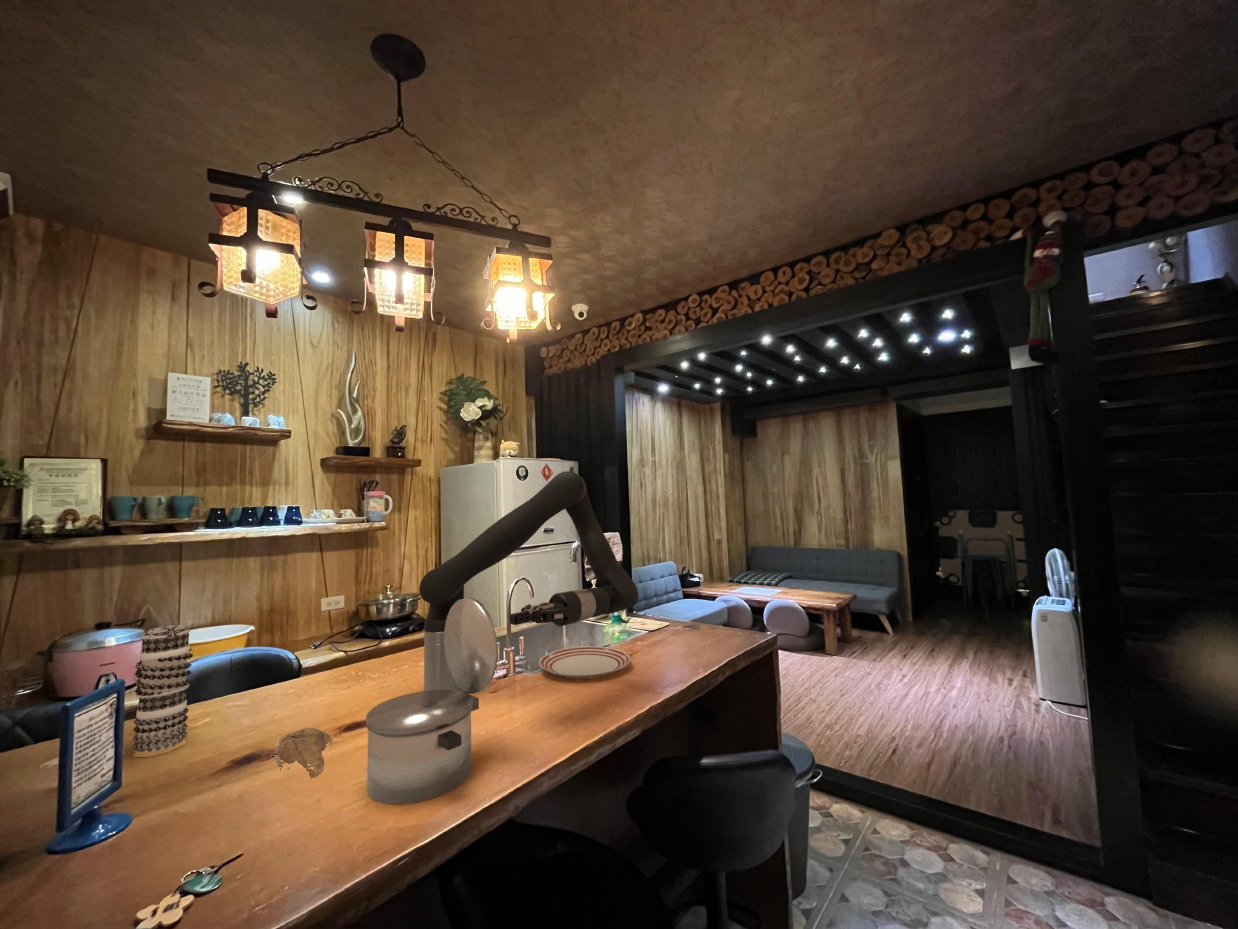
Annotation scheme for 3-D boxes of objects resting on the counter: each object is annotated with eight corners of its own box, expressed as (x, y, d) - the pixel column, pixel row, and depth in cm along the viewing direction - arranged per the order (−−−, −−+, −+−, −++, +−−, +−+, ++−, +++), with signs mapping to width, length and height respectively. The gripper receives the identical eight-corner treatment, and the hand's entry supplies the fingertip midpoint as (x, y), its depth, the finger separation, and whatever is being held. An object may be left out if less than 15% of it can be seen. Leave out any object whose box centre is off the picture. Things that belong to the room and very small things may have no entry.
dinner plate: (650, 667, 149) (649, 656, 150) (577, 692, 131) (577, 679, 131) (591, 651, 169) (590, 641, 170) (521, 671, 151) (521, 659, 151)
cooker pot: (376, 757, 98) (377, 694, 99) (478, 741, 104) (477, 681, 105) (352, 822, 77) (353, 740, 78) (481, 797, 83) (480, 721, 84)
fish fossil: (344, 771, 94) (343, 765, 94) (278, 796, 87) (278, 790, 87) (318, 727, 113) (318, 722, 114) (263, 745, 107) (263, 740, 107)
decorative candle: (197, 735, 112) (202, 620, 114) (175, 754, 103) (181, 629, 105) (146, 743, 109) (152, 624, 111) (119, 762, 100) (127, 633, 102)
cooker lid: (444, 683, 104) (466, 676, 108) (492, 703, 92) (516, 695, 96) (444, 595, 106) (466, 591, 110) (491, 603, 94) (514, 599, 98)
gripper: (554, 588, 125) (494, 599, 112) (591, 593, 116) (530, 604, 103) (555, 619, 124) (494, 633, 111) (592, 626, 115) (531, 642, 102)
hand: (511, 619), depth 107 cm, fingers closed
